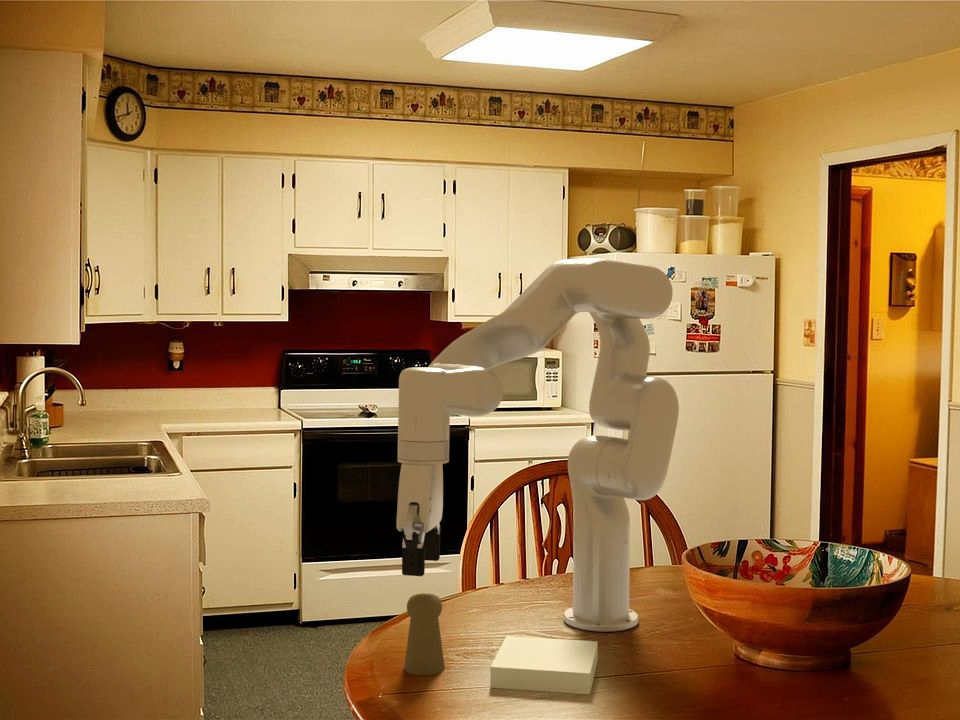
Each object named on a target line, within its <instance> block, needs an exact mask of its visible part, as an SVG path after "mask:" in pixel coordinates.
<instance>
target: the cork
mask: <svg viewBox="0 0 960 720" xmlns="http://www.w3.org/2000/svg"><path fill="white" fill-rule="evenodd" d="M442 609H443V604H442V600H441V599H440V597H439V596H438V595H436V594H433V593H417V594H413V595H412V596H410V597H409V599H408V600H407V603H406V611H407V615H408V617H409V618H410V620H409V627H408V634H407V643H406V651H405V659H404V665H403V666H404V668H403V669H404V671H405V672H406V673H407V674H410V675H414V676H432V675H437V674H440V673H442V672H443V671H445V669H446V667H445V658H444V651H443V644H442V638H441V630H440V627H441V626H440V622H439V621H440V620H439V617H440V615H441V613H442Z"/></svg>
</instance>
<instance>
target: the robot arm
mask: <svg viewBox="0 0 960 720" xmlns="http://www.w3.org/2000/svg"><path fill="white" fill-rule="evenodd" d="M673 294H674V291H673V285H672V282H671V280H670V279H669V277H668V275H667V274H666V273H665V272H664V271H663V270H661V269H660V268H658V267H655V266H653V265H651V266H650V265H644V264H643V265H642V264H637V263H631V262H624V261H623V262H622V261H618V260H611V259H606V258H575V259H574V258H573V259H562V260H558V261H555V262H553V263H552V264H550V265H549V266H548V267H547V268H546V269H544V270H543V271H542V272H541V274H539V275H538V276H537V277H536V278H535V279H534V280H533V281H532V282H531V283H530V285H528V286H527V288H525V290H523V292H522V293H520V295H518V297H517V298H516V299H515V300H514V301H512V303H511V304H510V305H509V306H508V307H507V308H506V309H505V310H503V311H502V312H501V313H499V314H497V315H495V316H493V317H491V318H490V319H487V320H486V321H484V322H483V323H481V324H480V325H478V326H476V327H474V328H472V329H471V330H469V331H467V332H466V333H464V334H462V335H461V336H459V337H458V338H456V339H455V340H453V341H452V342H451V343H450V344H448V346H447V347H445V348H444V349H443V350H442V351H441V352H440V353H439V354H438V355H437V356H436V357H435V358H434V360H432V362H430V364H429V365H428V367H423V366H422V367H417V366H415V367H407V368H404V369H403V370H402V371H401V372H400V374H399V378H398V413H397V414H398V418H397V420H398V422H397V425H398V426H397V462H398V463H400V464H401V466H400V473H399V480H398V492H397V511H396V525H395V526H396V530H397V531H398V532H403V533H402V543H401V545H402V547H401V549H402V550H401V553H402V555H401V574H402V575H403V576H408V577H409V576H411V577H412V576H413V577H414V576H415V577H423V576H424V575H425V568H426V567H425V563H426V561H433V562H438V561H439V560H440V558H441V533H440V532H441V525H440V522H441V520H442V518H443V511H444V508H443V507H444V471H443V470H444V469H443V465H444V464H447V463H449V462H450V419H451V418H450V417H451V416H453V415H457V416H465V417H466V416H467V417H474V418H477V417H483V416H487V415H489V414H491V413H492V412H493V411H495V410H497V408H499V406H500V404H501V402H502V400H503V396H504V387H503V384H502V381H501V379H500V378H499V377H498V375H497V374H496V373H495V372H494V371H492V370H491V369H492V368H495V367H497V366H499V365H504V364H505V363H509V362H513V361H517V360H520V359H524V358H526V357H529V356H532V355H535V354H536V353H539V352H540V351H542V350H543V349H544V348H545V347H546V346H547V345H548V344H549V343H550V341H552V340H553V339H554V338H555V336H556V335H558V333H559V332H560V331H561V330H562V329H563V328H564V326H566V324H567V323H569V321H571V319H572V318H573V317H575V315H577V314H579V313H589V314H590V316H591V318H592V319H593V323H595V326H596V328H597V332H598V334H599V345H600V346H599V351H598V358H597V364H596V369H595V373H594V377H593V383H592V387H591V391H590V397H589V403H588V405H589V406H588V408H589V409H588V410H589V416H590V418H591V420H592V421H593V422H594V423H595V424H596V425H599V426H600V427H603V428H606V429H611V430H617V431H623V432H629V435H628V439H627V438H622V437H616V436H615V437H614V436H608V435H590V436H585V437H582V438H581V439H579V440H578V441H577V442H576V443H574V445H573V446H572V447H571V450H570V451H569V454H568V458H567V473H568V478H569V483H570V489H571V490H570V491H571V495H572V496H571V497H572V506H573V509H572V510H573V512H572V513H573V514H572V515H573V530H572V531H573V534H572V535H573V536H572V537H573V543H572V544H573V545H572V548H573V552H572V554H573V556H572V557H573V558H572V561H573V563H572V568H573V569H572V570H573V571H572V607H570V608H567V609H566V610H565V611H564V612H563V621H564V622H565V623H566V624H567V625H568V626H569V627H573V628H576V629H580V630H584V631H591V632H606V633H607V632H621V631H626V630H628V629H632V628H634V627H636V626H637V625H638V624H639V614H638V613H636V611H634V610H633V609H630V568H631V567H630V562H631V561H630V559H631V558H630V555H631V553H630V552H631V551H630V550H631V549H630V547H631V545H630V543H631V518H630V512H629V509H628V504H627V503H626V500H625V499H628V500H629V499H630V500H634V501H635V500H636V501H647V500H650V499H652V498H654V497H656V495H657V494H659V492H660V491H661V489H662V487H663V485H664V484H665V481H666V478H667V474H668V470H669V466H670V461H671V457H672V451H673V447H674V442H675V436H676V431H677V427H678V420H679V413H680V412H679V411H680V409H679V408H680V407H679V406H680V405H679V400H678V395H677V393H676V391H675V389H674V387H673V385H672V384H671V383H670V382H668V381H667V380H666V379H663V378H661V377H658V376H651V375H647V374H648V368H649V367H648V366H649V361H650V354H651V346H650V345H651V344H650V340H649V339H650V338H649V337H648V336H649V335H648V334H647V333H648V332H647V331H646V328H645V326H644V324H643V323H642V321H641V319H643V320H645V319H646V320H649V319H651V320H652V319H655V318H658V317H660V316H662V315H663V314H664V313H665V312H666V311H667V310H668V309H669V307H670V305H671V303H672V300H673Z"/></svg>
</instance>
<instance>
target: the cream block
mask: <svg viewBox="0 0 960 720" xmlns="http://www.w3.org/2000/svg"><path fill="white" fill-rule="evenodd" d="M598 645H599V642H598V641H596V640H578V639H563V638H545V637H531V636H530V637H529V636H528V637H527V636H515V635H514V636H513V635H512V636H511V635H506V636H505V638H504V640H503V642H502V644H501V646H500V647H499V649H498V651H497V653H496V655H495V657H494V659H493V661H492V663H491V665H490V666H489V667H490V668H489V669H490V674H489V675H490V676H489V677H490V678H489V679H490V681H489V683H490V684H489V686H490V688H491V689H505V690H517V691H519V690H520V691H533V692H544V693H546V692H547V693H562V694H563V693H564V694H576V695H591V691H592V686H593V683H594V678H595V673H596V669H597V665H598V660H599V657H598V655H599V654H598V650H599V648H598V647H599V646H598Z"/></svg>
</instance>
